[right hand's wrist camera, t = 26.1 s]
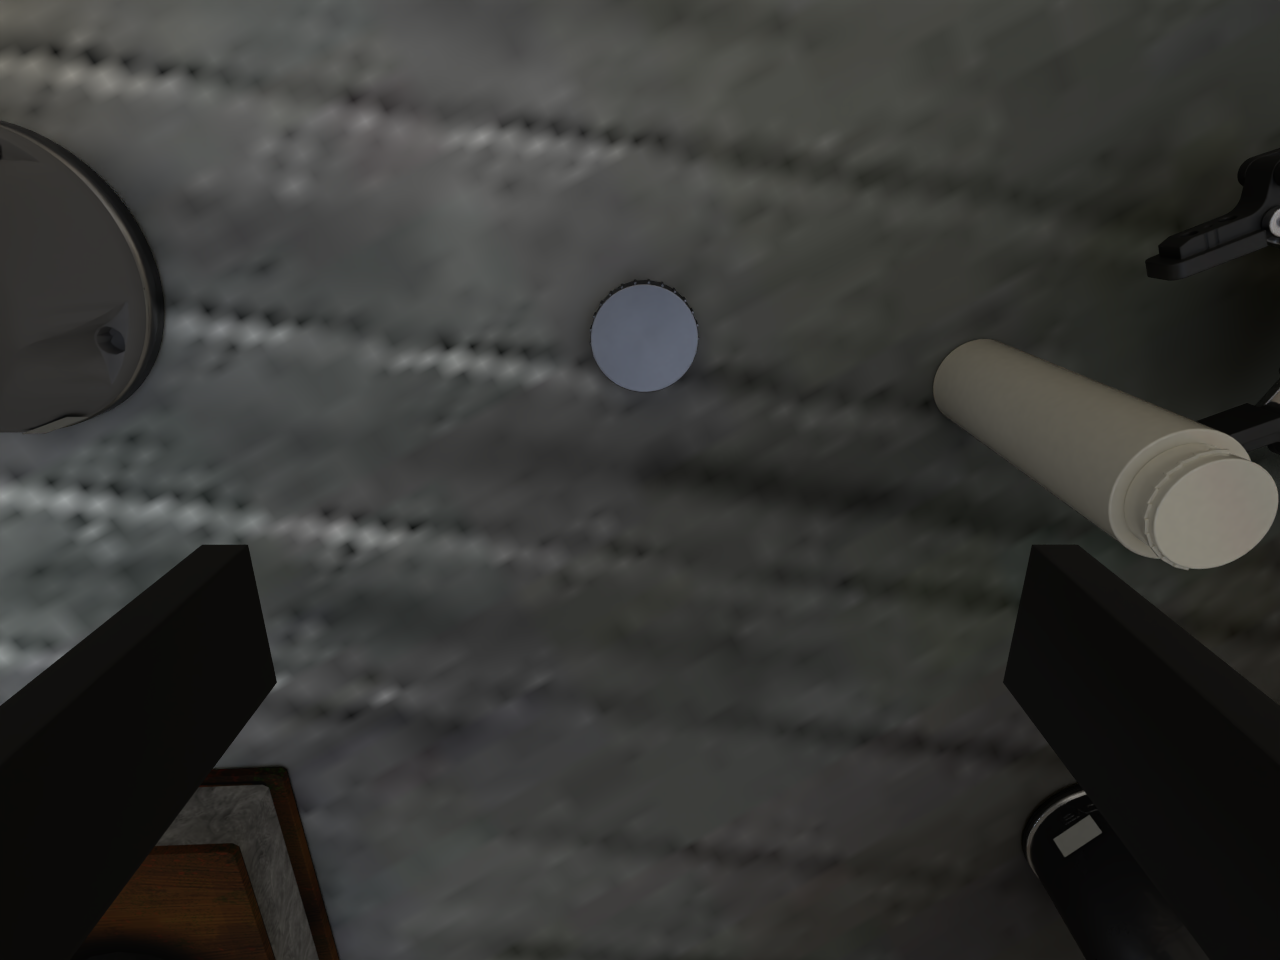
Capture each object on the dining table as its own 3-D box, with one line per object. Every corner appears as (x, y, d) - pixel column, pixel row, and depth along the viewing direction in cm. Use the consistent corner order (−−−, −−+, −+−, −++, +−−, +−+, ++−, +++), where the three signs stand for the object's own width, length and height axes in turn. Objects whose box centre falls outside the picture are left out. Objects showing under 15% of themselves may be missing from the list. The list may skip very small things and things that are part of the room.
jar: (954, 328, 39) (1187, 427, 23) (1036, 351, 40) (1325, 465, 23) (918, 412, 41) (1111, 563, 24) (998, 434, 41) (1242, 596, 25)
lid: (631, 404, 41) (631, 414, 39) (569, 320, 39) (566, 326, 37) (717, 346, 40) (721, 353, 38) (657, 256, 38) (658, 259, 36)
